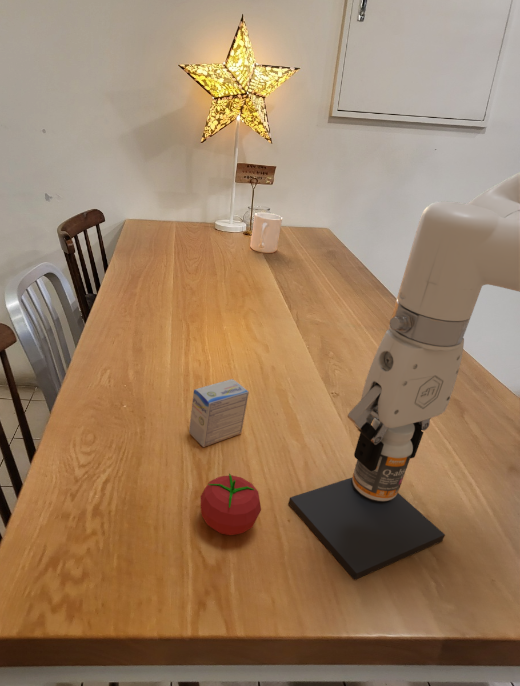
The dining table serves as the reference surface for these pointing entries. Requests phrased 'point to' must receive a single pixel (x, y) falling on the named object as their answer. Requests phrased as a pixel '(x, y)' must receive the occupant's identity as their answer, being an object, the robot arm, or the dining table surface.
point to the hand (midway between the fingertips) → (384, 456)
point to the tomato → (230, 505)
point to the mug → (265, 232)
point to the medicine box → (218, 412)
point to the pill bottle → (386, 465)
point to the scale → (364, 526)
